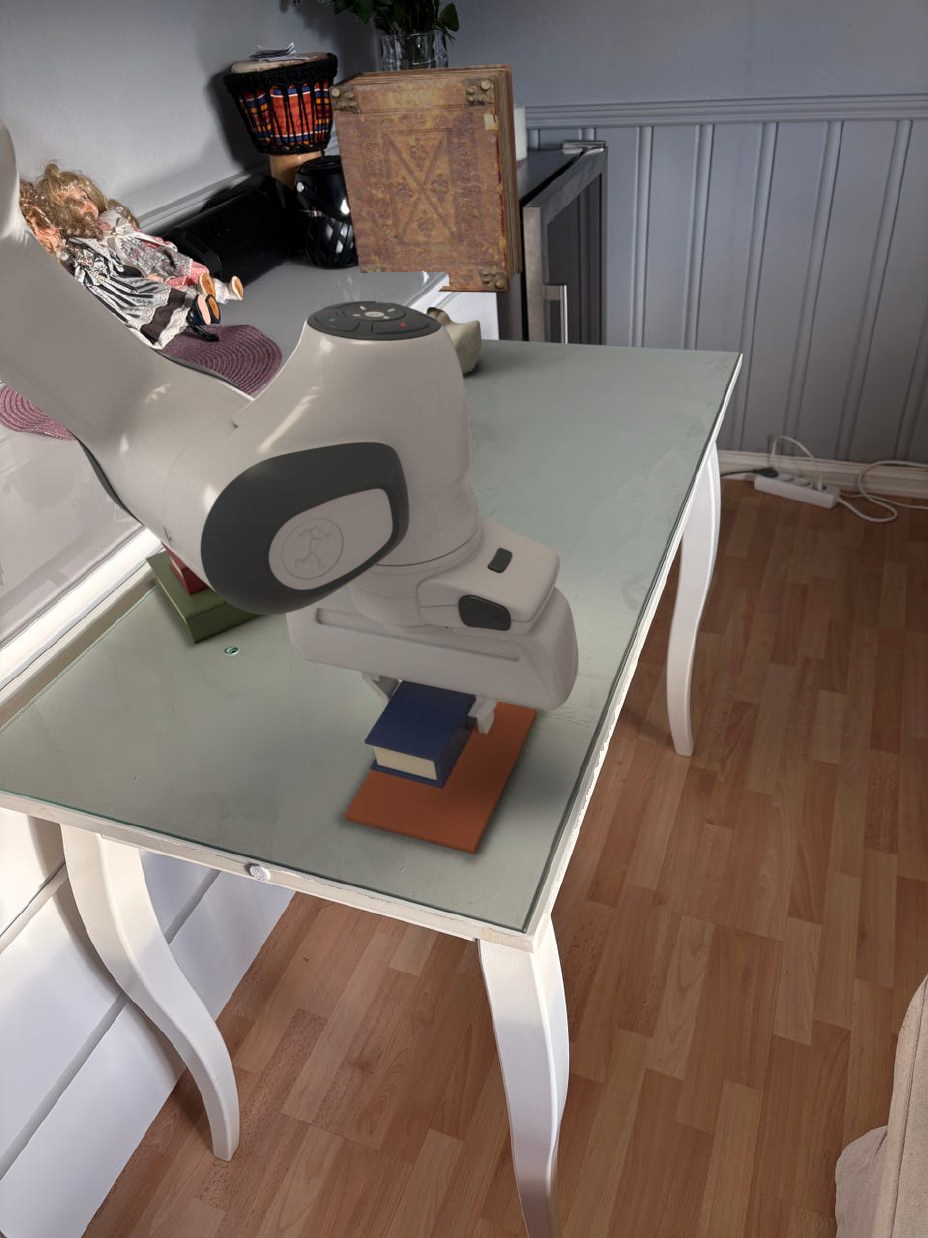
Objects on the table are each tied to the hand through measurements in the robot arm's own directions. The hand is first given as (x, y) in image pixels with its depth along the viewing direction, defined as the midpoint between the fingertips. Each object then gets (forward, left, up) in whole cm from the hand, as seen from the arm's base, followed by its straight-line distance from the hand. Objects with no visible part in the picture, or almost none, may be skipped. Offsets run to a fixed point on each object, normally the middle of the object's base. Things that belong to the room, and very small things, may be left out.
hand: (439, 717), depth 66 cm
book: (+55, +91, -5) cm, 106 cm away
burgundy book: (-3, +33, -2) cm, 33 cm away
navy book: (0, 0, -1) cm, 1 cm away
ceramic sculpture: (+37, +62, -5) cm, 72 cm away
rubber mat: (0, 0, -5) cm, 5 cm away
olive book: (-3, +33, -5) cm, 33 cm away
